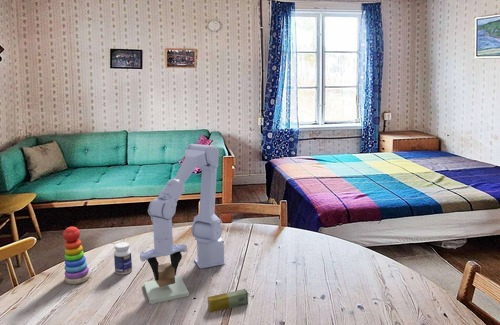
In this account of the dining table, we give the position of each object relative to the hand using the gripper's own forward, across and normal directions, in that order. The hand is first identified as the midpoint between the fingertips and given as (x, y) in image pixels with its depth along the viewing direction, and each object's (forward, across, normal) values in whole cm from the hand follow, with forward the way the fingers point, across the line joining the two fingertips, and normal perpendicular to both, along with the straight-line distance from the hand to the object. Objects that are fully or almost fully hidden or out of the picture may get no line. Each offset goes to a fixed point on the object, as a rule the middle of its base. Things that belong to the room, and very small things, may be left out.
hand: (165, 276), depth 131 cm
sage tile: (+5, 0, 0) cm, 5 cm away
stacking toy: (+5, +23, -22) cm, 33 cm away
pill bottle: (+5, +8, -20) cm, 23 cm away
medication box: (+5, -13, +18) cm, 23 cm away
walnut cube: (+2, 0, 0) cm, 2 cm away
